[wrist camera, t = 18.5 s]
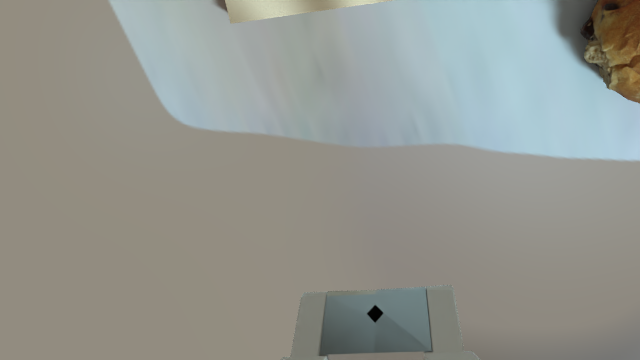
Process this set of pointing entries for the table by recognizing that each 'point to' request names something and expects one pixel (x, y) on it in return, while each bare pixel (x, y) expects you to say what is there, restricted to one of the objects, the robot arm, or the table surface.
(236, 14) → the board
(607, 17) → the bread roll
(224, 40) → the table surface
